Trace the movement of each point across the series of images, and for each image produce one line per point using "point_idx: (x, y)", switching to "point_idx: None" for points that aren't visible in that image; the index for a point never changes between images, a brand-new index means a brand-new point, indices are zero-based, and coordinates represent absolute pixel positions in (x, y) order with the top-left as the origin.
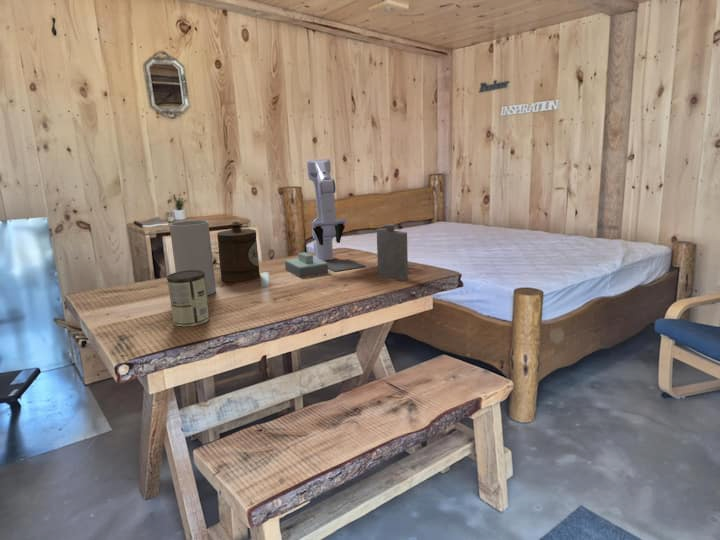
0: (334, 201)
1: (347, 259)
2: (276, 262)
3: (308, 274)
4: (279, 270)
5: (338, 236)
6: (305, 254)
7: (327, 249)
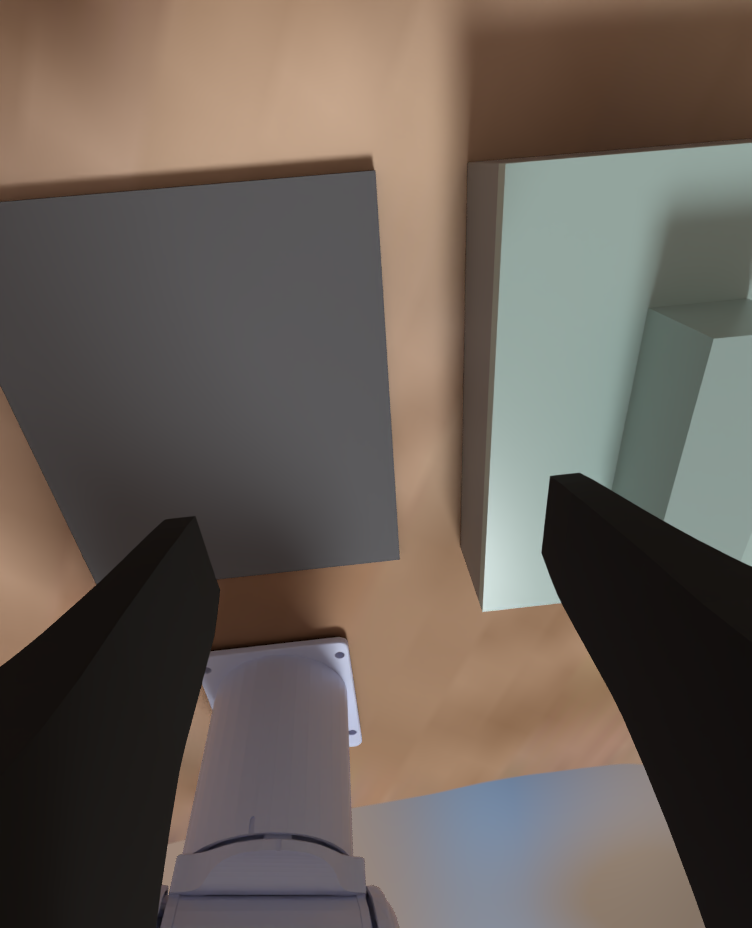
0: None
1: None
2: (616, 718)
3: (738, 140)
4: None
5: (149, 626)
6: (738, 454)
7: (266, 734)
